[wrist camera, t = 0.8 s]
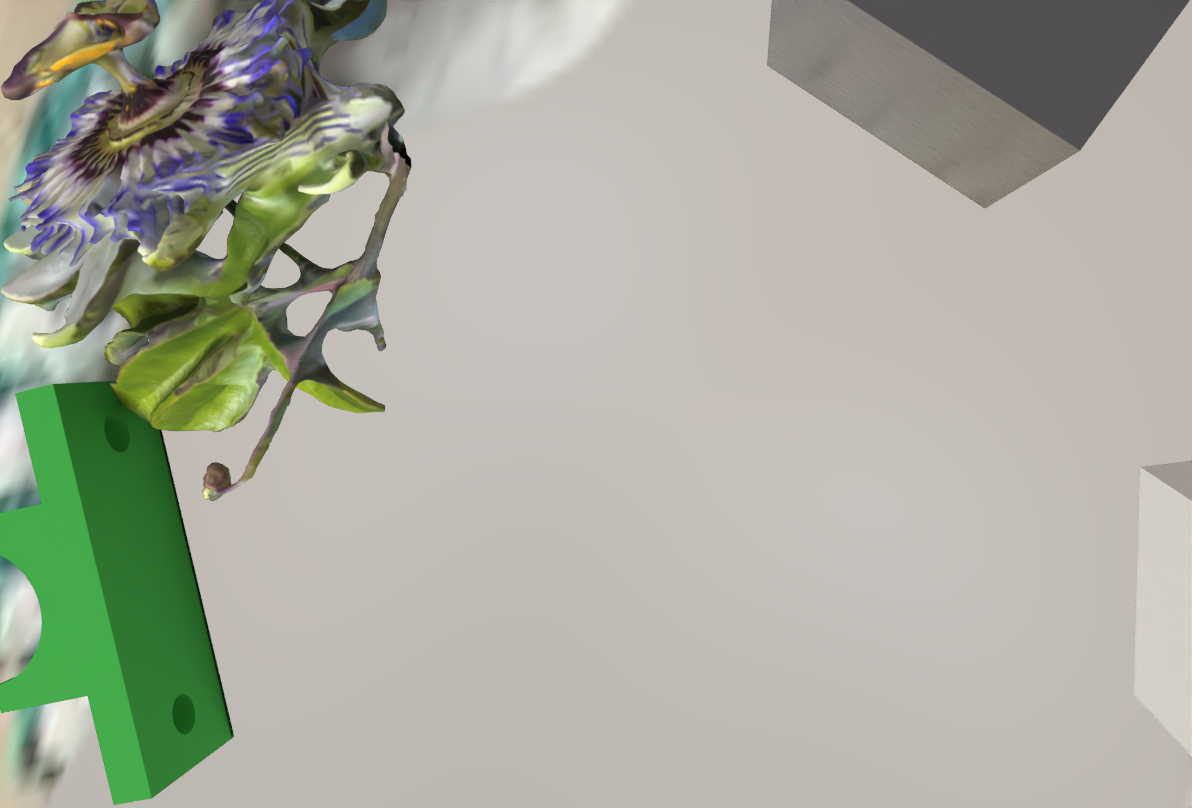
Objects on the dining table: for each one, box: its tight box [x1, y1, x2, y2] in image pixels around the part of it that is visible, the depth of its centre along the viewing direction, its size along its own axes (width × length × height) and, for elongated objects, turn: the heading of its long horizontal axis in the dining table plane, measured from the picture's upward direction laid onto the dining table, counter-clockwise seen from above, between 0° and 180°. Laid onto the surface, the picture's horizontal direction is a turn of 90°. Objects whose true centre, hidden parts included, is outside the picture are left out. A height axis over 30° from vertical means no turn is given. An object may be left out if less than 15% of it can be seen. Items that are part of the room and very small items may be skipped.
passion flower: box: [1, 0, 411, 501], centre depth 27 cm, size 11×11×12 cm
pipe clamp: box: [0, 381, 234, 805], centre depth 30 cm, size 11×4×5 cm, turn 13°
